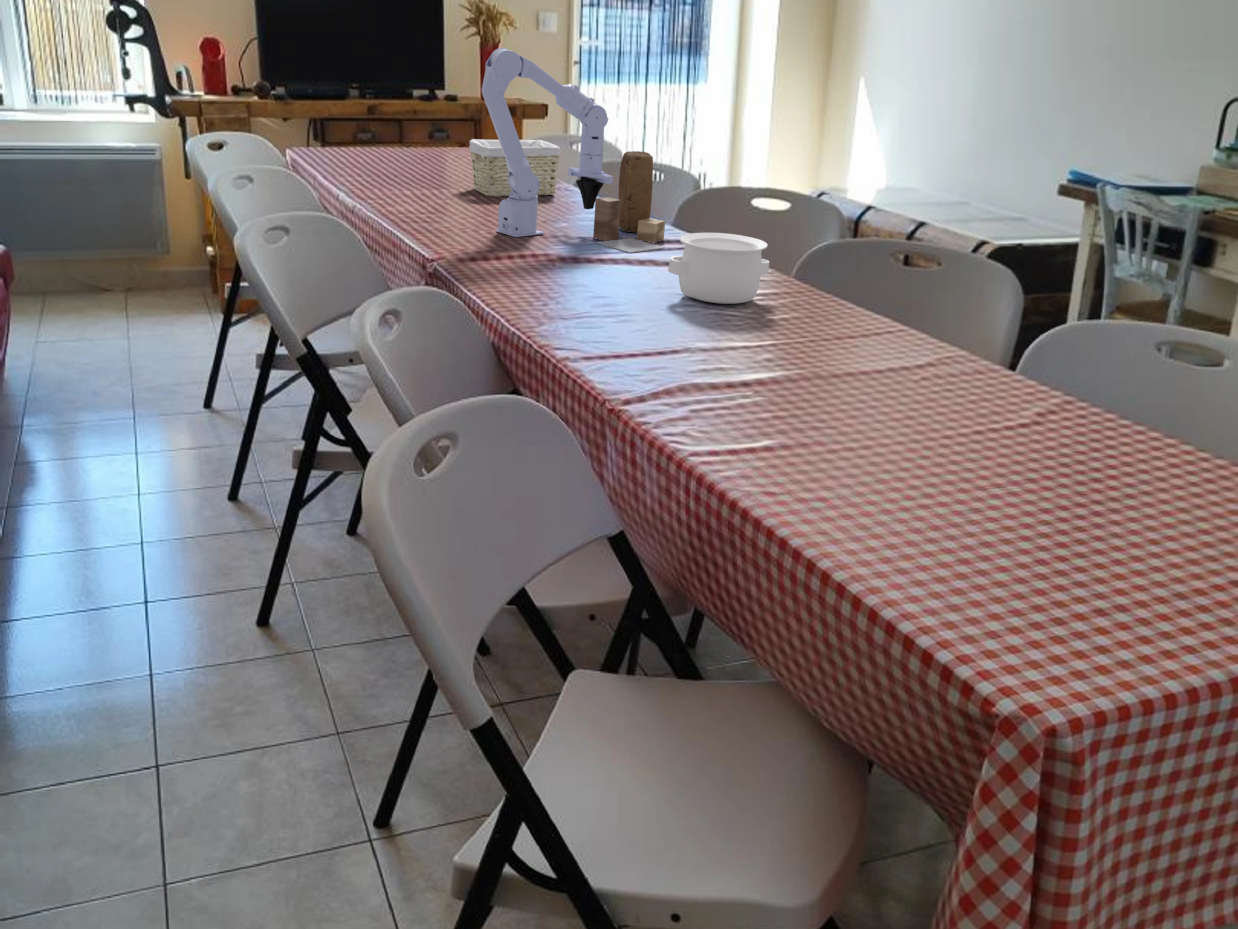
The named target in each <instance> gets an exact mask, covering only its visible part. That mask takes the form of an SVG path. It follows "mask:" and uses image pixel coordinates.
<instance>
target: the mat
mask: <svg viewBox="0 0 1238 929" xmlns="http://www.w3.org/2000/svg"><path fill="white" fill-rule="evenodd" d="M596 243H598V244H597V245H599V244H602V245H601V246H602V247H603V246H604V247H606V246H607V248H611V249H614V250H618V251H621V252H624V253H626V254H627V253H628V254H634V253H642V252H648V251H649V252H650V251H657V250H663V249H665V247H664V246H661V245H657V244H655V243H650V242H645V241H640V240H637V238H632V237H628V238H621V239H620V238H619V239H618V240H612V241H598V242H597V241H596Z"/></svg>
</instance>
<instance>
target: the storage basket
mask: <svg viewBox="0 0 1238 929" xmlns="http://www.w3.org/2000/svg"><path fill="white" fill-rule="evenodd" d="M519 140H520V143H521V146H522V149H523V152H524V155H525V157H526V159H527V161H528V163H529V165H530V168H531V170H532V172H533V174H534V175H535V176H536V177H537V178H538V179H539V182H540V189H539V192H538V193H537V196H538V197H539V196H549V195H552V196H553V195H555V194H556V188H557V177H558V176H557V175H558V169H559V168H558V167H559V162H560V155H561V148H560V146H559V145H556V144H554V143H550V142H548V141H546V140H543V139H535V140H534V139H519ZM469 152H470V155H471V158H470V160H471V169H472V171H471V172H472V178H473V181H472V182H473V189H474V190H475V191H478V192H479V193H481V194H483V195H485V196H487V197H495V198H498V197H509V193H510V192H511V190H512V189H511V187H510V185H509V182H508V178H509V172H508V169H507V162H506V159H505V156H504V153H503V150H502V147H501V145H500V142H499V139H478V138H477V139H475V138H472V139H469Z"/></svg>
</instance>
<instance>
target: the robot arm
mask: <svg viewBox="0 0 1238 929" xmlns="http://www.w3.org/2000/svg"><path fill="white" fill-rule="evenodd" d="M484 70H485V72H484V75H483V76H484V77H483V81H482V85H481V86H482V87H481V94H482V97H483V99H484V102H485V105H486V108H487V110H488V114H489V116H490V120H491V122H492V125H493V127H494V131H495V133H496V136H497V138H498V139H497V140H499V142H500V145H501V147H502V150H503V153H504V156H505V159H506V162H507V169H508V172H509V178H508V182H509V185H510V187H511V189H512V190H511V192H510V193H509V196H507V198H504V199H502V200H501V201H500V203H499V205H498V214H497V217H498V218H497V226H498V227H497V229H496V230H495V232H496V233H497V232H498V233H500V234H504V235H507V236H511V237H512V238H513V237H514V238H519V237H527V236H528V237H529V236H536V235H537V236H538V235H544V234H545V232H544V231H541V230H537V228H538V227H537V226H538V204H539V199H538V198H539V195H537V193H538V192H539V189H540V182H539V179H538V178H537V177H536V176H535V175H534V174H533V172H532V170H531V168H530V165H529V163H528V161H527V159H526V157H525V155H524V152H523V149H522V146H521V143H520V140H521V139H520V137H519V135H518V132H517V129H516V126H515V124H514V120H513V117H512V114H511V111H510V109H509V106H508V104H507V101H506V97H505V93H506V91H507V89H508V87H509V85H510V84H511V82H512V81H513V80H514V79H516V77H519V78H524V79H530V80H531V81H533V82H534V83H536V84H537V85H539V86H540V87H541V88H543V89H544V90H546V91H548V92H549V93H550V94H552V95H553V96H554V97H555V103H556V105H558V107H560V108H562V110H565V111H566V112H567V113H568V114H569V115H571V116H573V117H574V118H575V119H577V120H579V122H580V124H581V134H580V150H579V152H580V153H579V167H574V166H573V167H568V172H567V173H568V174H567V175H568V176H571V177H572V176H573V177H577V178H579V179H576V181H575V183H576V185H577V187H578V190H579V192H580V195H581V198H582V206H583V209H585V210H593V209H594V208H595V200H596V198H598V196H599V192H600V191H601V189H602V187H604V184H605V185H612V184H613V183H614V182H613V181H614V176H613V175H610V174H607V173H605V171H603V159H604V158H603V157H604V142H605V141H604V140H605V127H606V126H607V124H608V122H609V117H608V114H607V111H606V109H605V108H604V107H603V106H601V105H599V104H597V103H596V102H595V99H594V98H593V97H589V96H587V95H585V94H584V93H583V92H582V91H580V87H579V86H577V84H573V85H572V84H571V83H568V84H561V83H560V82H559V81H558V80H557V79H555V78H554V77H553V76H551V75H550V74H549V73H548V72H546V71H545V70H544V69H543V68H541V67H540V66H539V65H537V64H536V63H535V62H534V61H532V60H530V59H528V58H527V57H523V55H519V54H518V53H517V52H515V51H513V50H509V49H508V48H506V47H505V48H504V47H499V48H496V49H495V50H494V51H492V53H491V54H490V56H489V57H488V59H487V60H486V62H485V69H484Z"/></svg>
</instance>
